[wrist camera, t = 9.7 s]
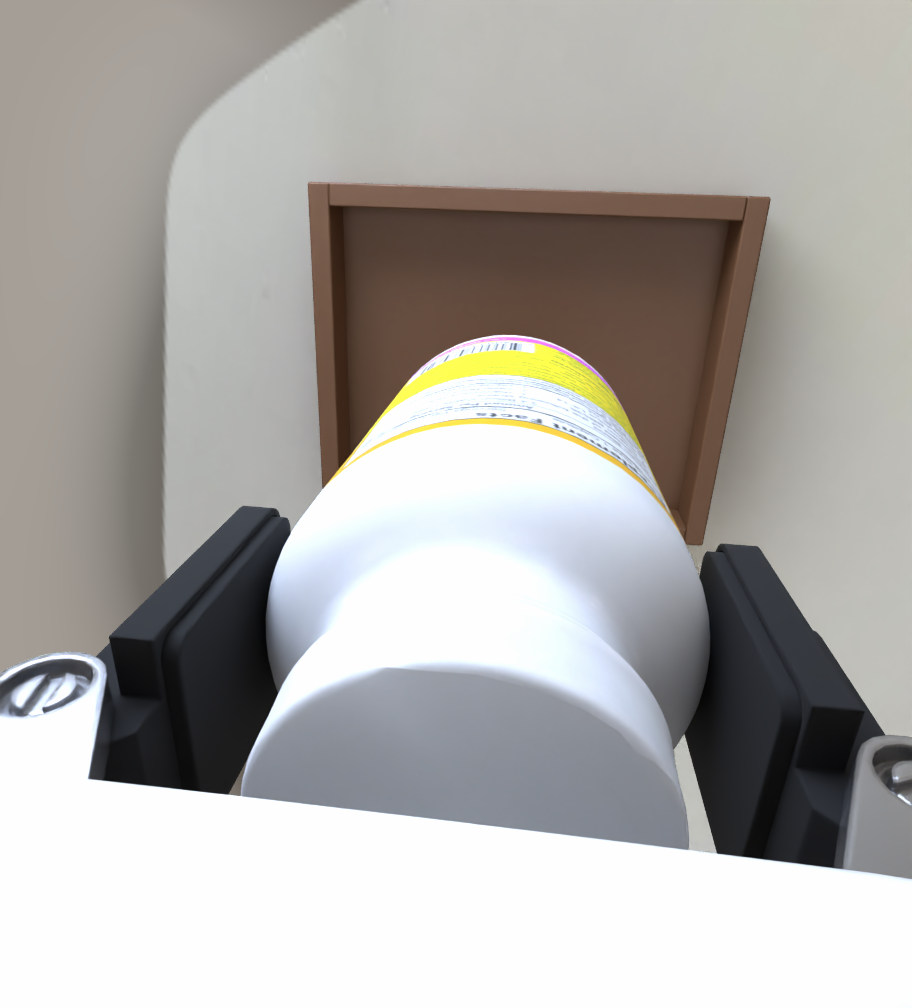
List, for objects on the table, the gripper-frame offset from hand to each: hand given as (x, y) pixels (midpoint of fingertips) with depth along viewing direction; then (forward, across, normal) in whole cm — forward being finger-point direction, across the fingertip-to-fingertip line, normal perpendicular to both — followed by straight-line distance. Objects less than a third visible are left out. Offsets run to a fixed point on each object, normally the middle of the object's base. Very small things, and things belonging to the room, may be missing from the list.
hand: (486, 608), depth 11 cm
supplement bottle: (+8, 0, 0) cm, 8 cm away
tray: (+20, 0, 0) cm, 20 cm away
